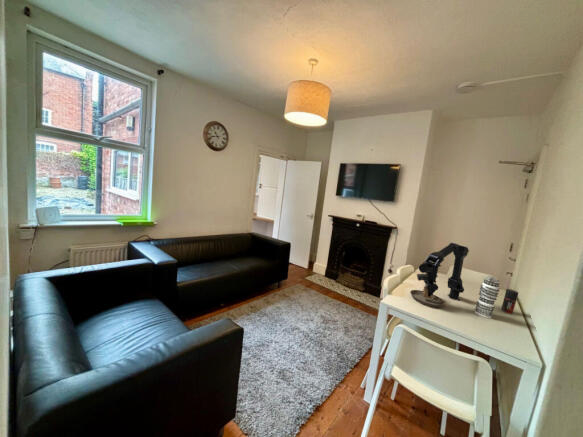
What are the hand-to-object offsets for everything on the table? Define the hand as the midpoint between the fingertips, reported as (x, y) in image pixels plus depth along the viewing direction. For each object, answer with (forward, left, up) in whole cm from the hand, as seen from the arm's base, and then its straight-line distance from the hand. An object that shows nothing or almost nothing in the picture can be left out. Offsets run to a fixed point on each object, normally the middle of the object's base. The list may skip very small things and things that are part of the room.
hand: (427, 293), depth 157 cm
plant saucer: (0, 0, -6) cm, 6 cm away
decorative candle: (-2, +33, -5) cm, 33 cm away
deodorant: (-19, +52, -5) cm, 56 cm away
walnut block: (0, 0, -2) cm, 2 cm away
